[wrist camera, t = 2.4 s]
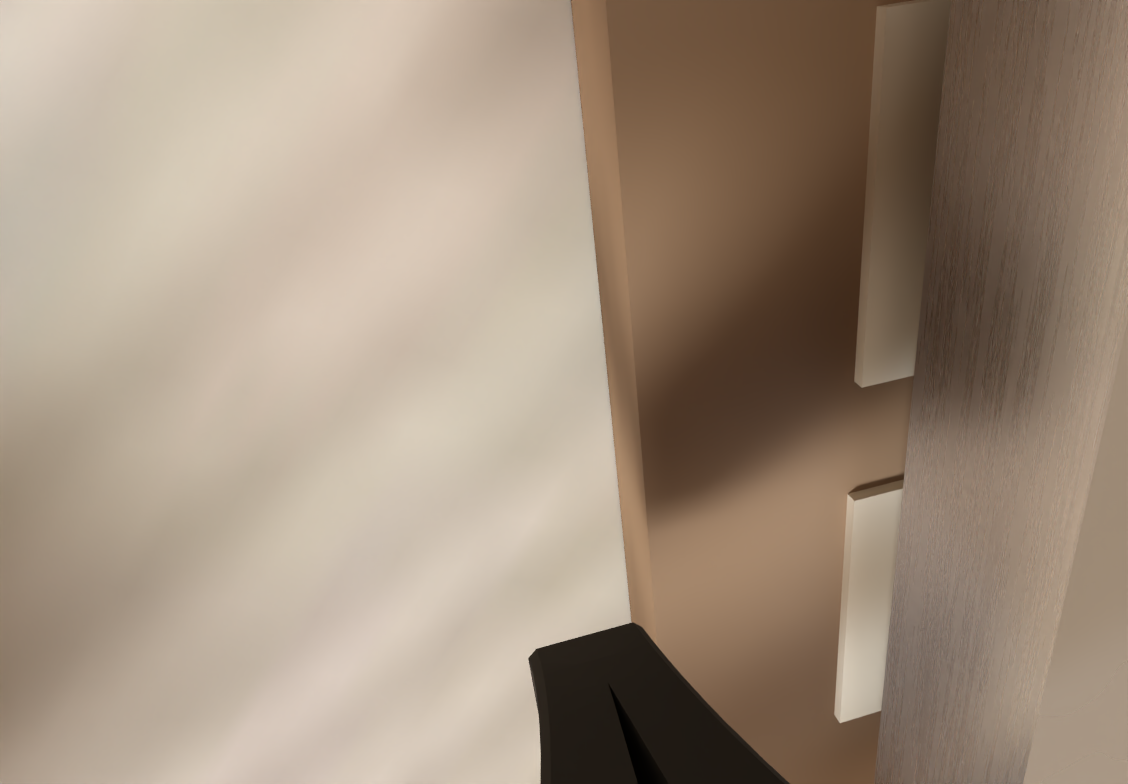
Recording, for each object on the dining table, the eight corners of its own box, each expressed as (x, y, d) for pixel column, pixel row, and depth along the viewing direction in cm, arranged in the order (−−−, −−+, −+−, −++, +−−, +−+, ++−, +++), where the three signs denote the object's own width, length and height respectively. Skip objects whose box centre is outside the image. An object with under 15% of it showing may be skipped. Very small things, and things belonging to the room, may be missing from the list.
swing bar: (972, -631, 7) (1390, -980, 4) (1339, -640, 8) (1910, -955, 5) (855, 792, 16) (969, 973, 13) (1030, 735, 16) (1174, 898, 14)
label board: (1285, 604, 21) (1371, 665, 19) (649, 801, 18) (683, 891, 17) (1747, -574, 11) (2009, -664, 9) (521, -517, 8) (573, -628, 7)
